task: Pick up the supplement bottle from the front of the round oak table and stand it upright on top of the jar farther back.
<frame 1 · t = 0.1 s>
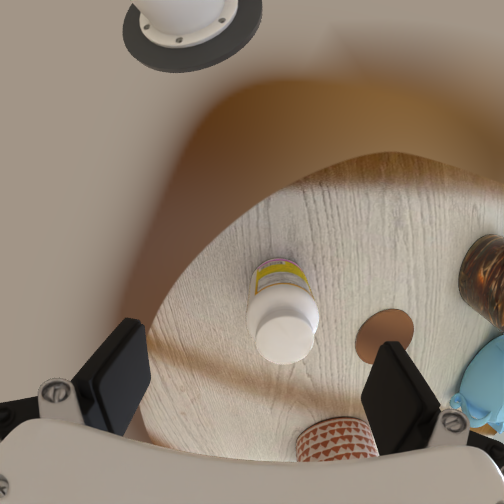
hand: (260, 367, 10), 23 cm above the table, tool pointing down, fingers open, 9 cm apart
brown coaster: (384, 337, 36), on the table
supplement bottle: (278, 282, 34), on the table
planter: (332, 438, 42), on the table
teapot: (489, 365, 37), on the table
jar: (484, 270, 32), on the table
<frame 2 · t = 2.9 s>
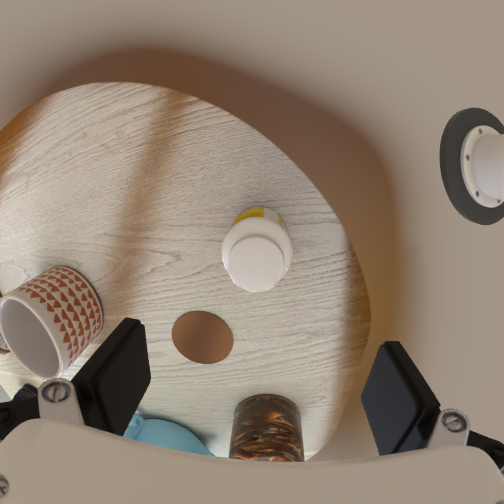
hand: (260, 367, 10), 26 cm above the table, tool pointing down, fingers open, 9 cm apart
tin: (7, 311, 42), on the table
brown coaster: (202, 337, 40), on the table
supplement bottle: (259, 232, 36), on the table
planter: (72, 303, 40), on the table
teapot: (169, 441, 48), on the table
storage jar: (37, 398, 49), on the table
jar: (267, 415, 44), on the table
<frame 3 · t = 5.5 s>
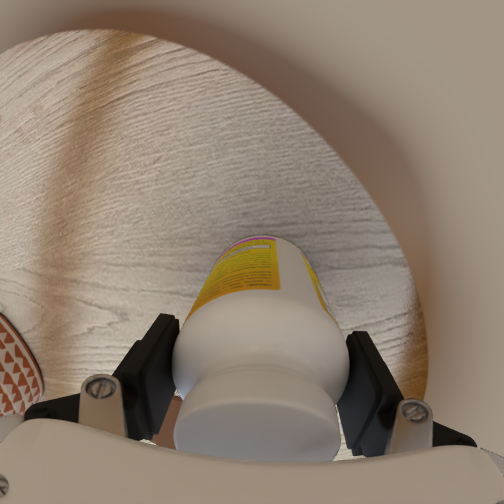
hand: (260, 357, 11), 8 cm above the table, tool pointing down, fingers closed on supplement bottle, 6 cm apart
brown coaster: (173, 425, 23), on the table
supplement bottle: (263, 282, 19), on the table, touching gripper
planter: (7, 353, 23), on the table
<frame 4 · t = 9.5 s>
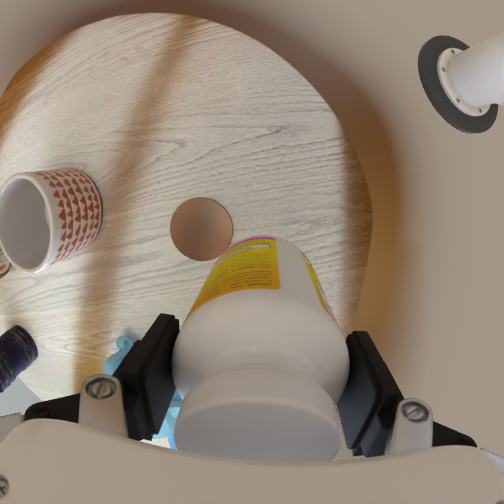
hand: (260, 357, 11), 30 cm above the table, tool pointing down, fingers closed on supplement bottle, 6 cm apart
tin: (4, 237, 43), on the table
brown coaster: (201, 229, 40), on the table
supplement bottle: (263, 282, 19), point 21 cm above the table, touching gripper
planter: (72, 210, 40), on the table
teapot: (161, 379, 48), on the table
storage jar: (25, 342, 50), on the table
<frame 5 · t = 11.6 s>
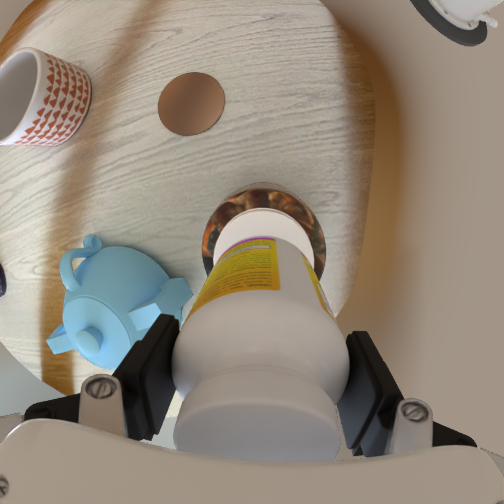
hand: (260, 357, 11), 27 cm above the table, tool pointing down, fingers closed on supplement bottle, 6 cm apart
brown coaster: (190, 103, 33), on the table
supplement bottle: (263, 282, 19), point 19 cm above the table, touching gripper
planter: (61, 105, 33), on the table
teapot: (133, 301, 41), on the table
jar: (264, 228, 37), on the table
when the fingers open (23 cm above the table, at t = 13.4 s): supplement bottle stays where it is, resting on jar.
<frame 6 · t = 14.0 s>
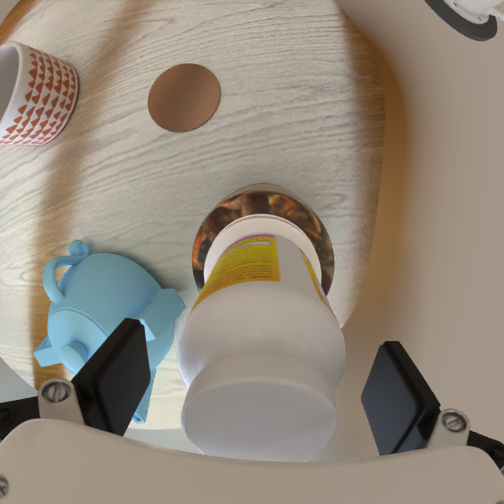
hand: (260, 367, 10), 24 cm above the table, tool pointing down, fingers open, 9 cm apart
brown coaster: (183, 97, 30), on the table
supplement bottle: (263, 278, 20), point 15 cm above the table, touching jar
planter: (48, 102, 30), on the table
teapot: (124, 311, 38), on the table
jar: (264, 233, 34), on the table, touching supplement bottle
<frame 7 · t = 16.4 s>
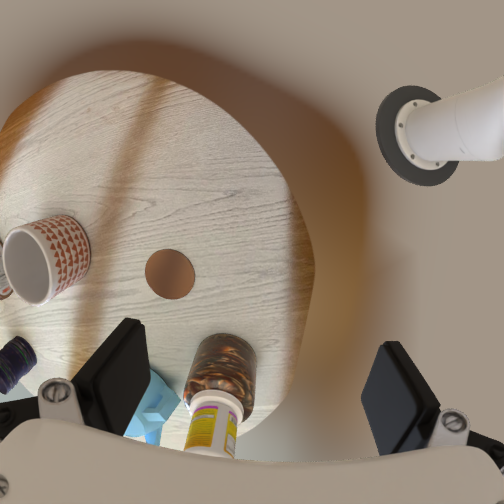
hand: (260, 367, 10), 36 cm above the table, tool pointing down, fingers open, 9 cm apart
tin: (7, 262, 49), on the table
brown coaster: (169, 274, 48), on the table
supplement bottle: (216, 413, 38), point 15 cm above the table, touching jar
planter: (65, 248, 48), on the table
teapot: (140, 388, 56), on the table
storage jar: (25, 350, 56), on the table
jar: (226, 358, 52), on the table, touching supplement bottle
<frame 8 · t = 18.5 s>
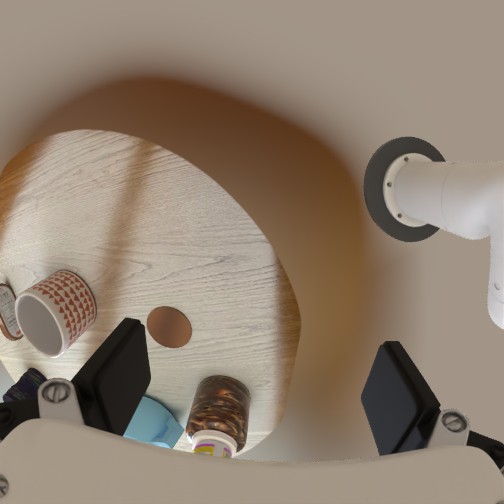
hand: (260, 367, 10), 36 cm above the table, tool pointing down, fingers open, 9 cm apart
tin: (17, 305, 54), on the table
brown coaster: (169, 327, 52), on the table
supplement bottle: (213, 447, 41), point 15 cm above the table, touching jar
planter: (72, 299, 52), on the table
teapot: (148, 416, 60), on the table
storage jar: (40, 380, 61), on the table
jar: (223, 394, 56), on the table, touching supplement bottle
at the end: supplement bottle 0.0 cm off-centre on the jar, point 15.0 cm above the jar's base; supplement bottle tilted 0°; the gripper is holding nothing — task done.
